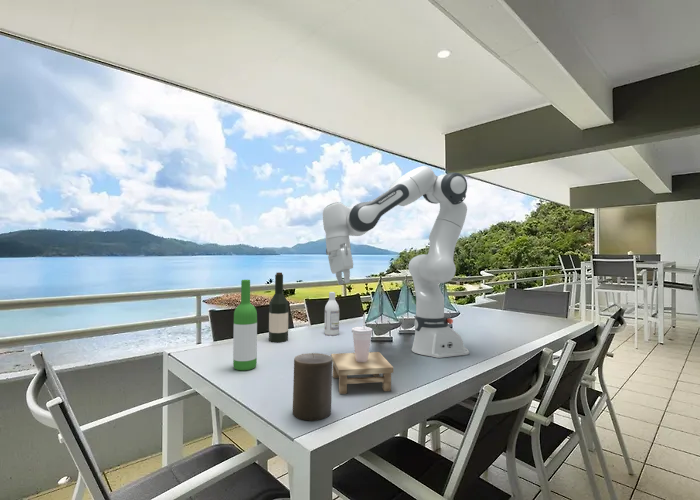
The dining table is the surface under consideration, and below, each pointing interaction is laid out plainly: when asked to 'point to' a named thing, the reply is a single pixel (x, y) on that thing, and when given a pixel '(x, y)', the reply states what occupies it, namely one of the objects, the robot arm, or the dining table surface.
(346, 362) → the footstool
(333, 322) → the bath foam
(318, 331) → the dining table surface
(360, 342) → the smoothie
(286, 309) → the wine bottle
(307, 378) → the pillar candle
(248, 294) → the wine bottle
